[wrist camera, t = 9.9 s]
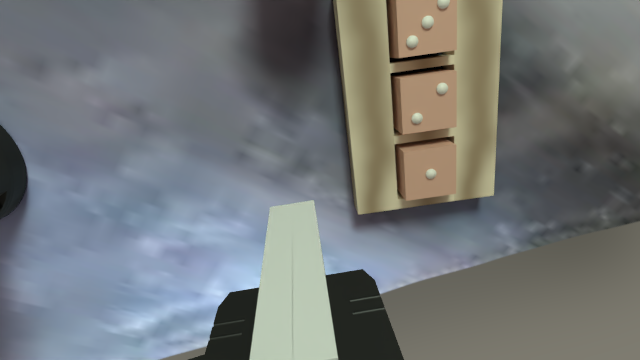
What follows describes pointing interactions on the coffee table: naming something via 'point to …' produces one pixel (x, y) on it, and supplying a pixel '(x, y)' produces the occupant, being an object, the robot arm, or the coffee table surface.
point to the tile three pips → (421, 27)
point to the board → (376, 101)
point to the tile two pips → (424, 100)
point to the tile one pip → (426, 168)
